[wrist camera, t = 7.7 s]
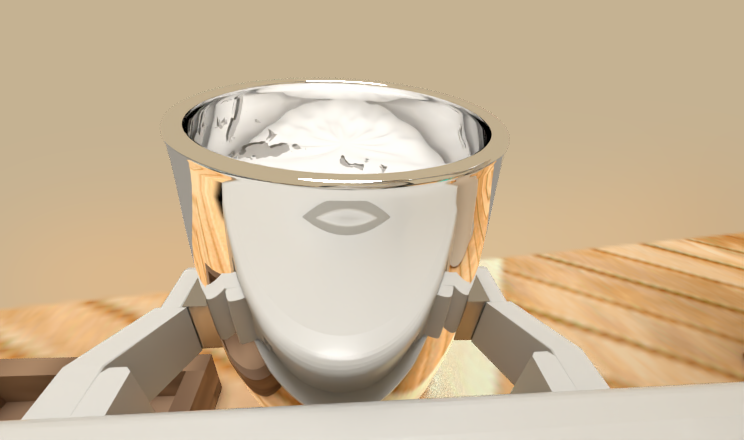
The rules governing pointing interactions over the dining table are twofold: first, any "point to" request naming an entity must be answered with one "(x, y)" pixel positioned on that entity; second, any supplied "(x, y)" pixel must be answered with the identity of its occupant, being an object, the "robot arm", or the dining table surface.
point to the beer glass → (334, 229)
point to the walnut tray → (32, 376)
